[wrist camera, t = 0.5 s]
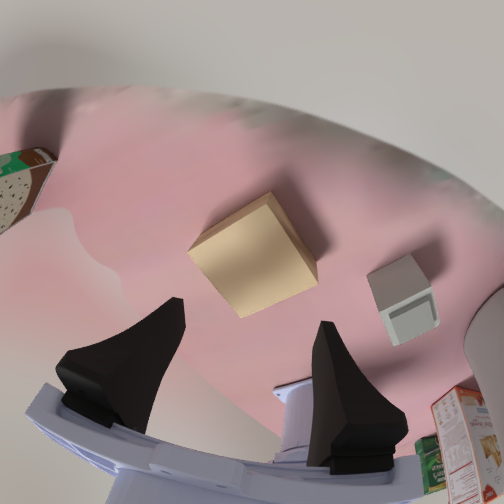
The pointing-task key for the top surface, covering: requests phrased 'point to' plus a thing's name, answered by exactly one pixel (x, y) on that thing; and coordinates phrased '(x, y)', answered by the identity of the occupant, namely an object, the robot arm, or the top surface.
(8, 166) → the food container
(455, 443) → the cracker box
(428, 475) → the coffee box
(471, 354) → the cylinder vase
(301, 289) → the oak block
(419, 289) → the block
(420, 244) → the top surface
